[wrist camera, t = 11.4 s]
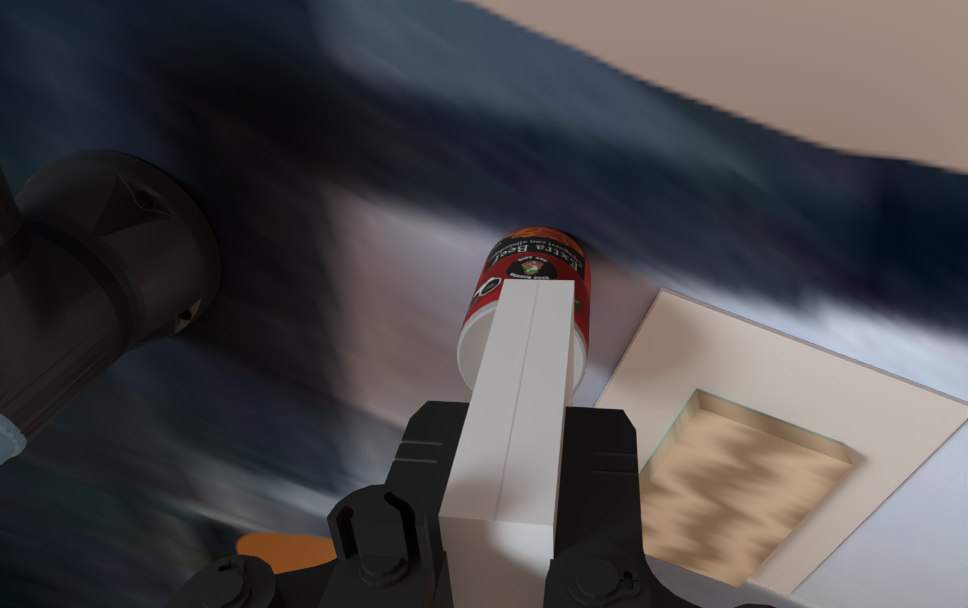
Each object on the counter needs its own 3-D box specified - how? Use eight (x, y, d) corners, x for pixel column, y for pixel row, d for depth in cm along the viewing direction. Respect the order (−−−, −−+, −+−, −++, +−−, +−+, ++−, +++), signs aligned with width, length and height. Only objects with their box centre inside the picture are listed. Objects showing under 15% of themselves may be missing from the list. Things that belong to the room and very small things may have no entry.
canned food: (598, 227, 44) (595, 310, 35) (584, 325, 49) (578, 423, 39) (487, 216, 45) (456, 294, 36) (482, 313, 50) (454, 406, 40)
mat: (540, 500, 59) (539, 506, 58) (661, 286, 46) (662, 291, 45) (785, 590, 59) (787, 596, 59) (972, 404, 47) (976, 409, 46)
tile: (696, 388, 49) (608, 518, 58) (700, 408, 47) (608, 540, 55) (842, 442, 49) (734, 564, 58) (853, 465, 47) (738, 587, 56)
